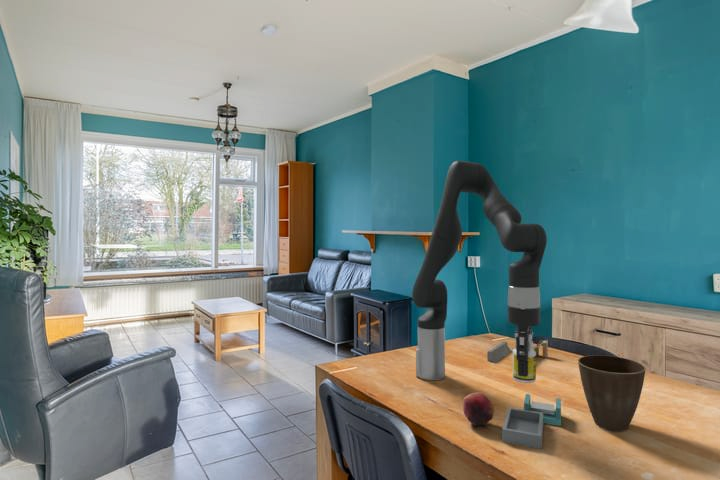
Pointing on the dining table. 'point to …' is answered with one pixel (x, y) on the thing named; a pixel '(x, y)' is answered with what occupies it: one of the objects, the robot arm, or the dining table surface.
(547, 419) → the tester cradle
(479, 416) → the fruit
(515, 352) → the supplement bottle
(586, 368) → the plant pot
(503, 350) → the skate ramp
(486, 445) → the dining table surface
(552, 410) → the plate
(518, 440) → the trough
